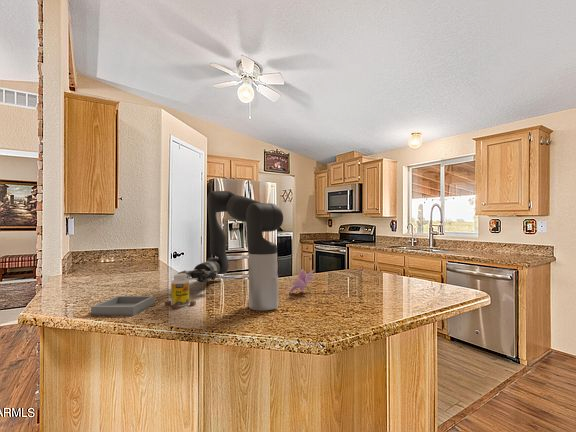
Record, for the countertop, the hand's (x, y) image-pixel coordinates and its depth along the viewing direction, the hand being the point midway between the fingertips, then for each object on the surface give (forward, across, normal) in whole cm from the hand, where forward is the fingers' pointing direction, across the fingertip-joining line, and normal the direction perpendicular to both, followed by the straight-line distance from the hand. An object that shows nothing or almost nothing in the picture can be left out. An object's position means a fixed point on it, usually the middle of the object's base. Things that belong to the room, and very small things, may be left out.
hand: (191, 278), depth 111 cm
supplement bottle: (+10, 0, +7) cm, 12 cm away
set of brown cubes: (+10, 0, +7) cm, 12 cm away
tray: (+14, -16, +7) cm, 23 cm away
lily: (-7, +41, +7) cm, 42 cm away
